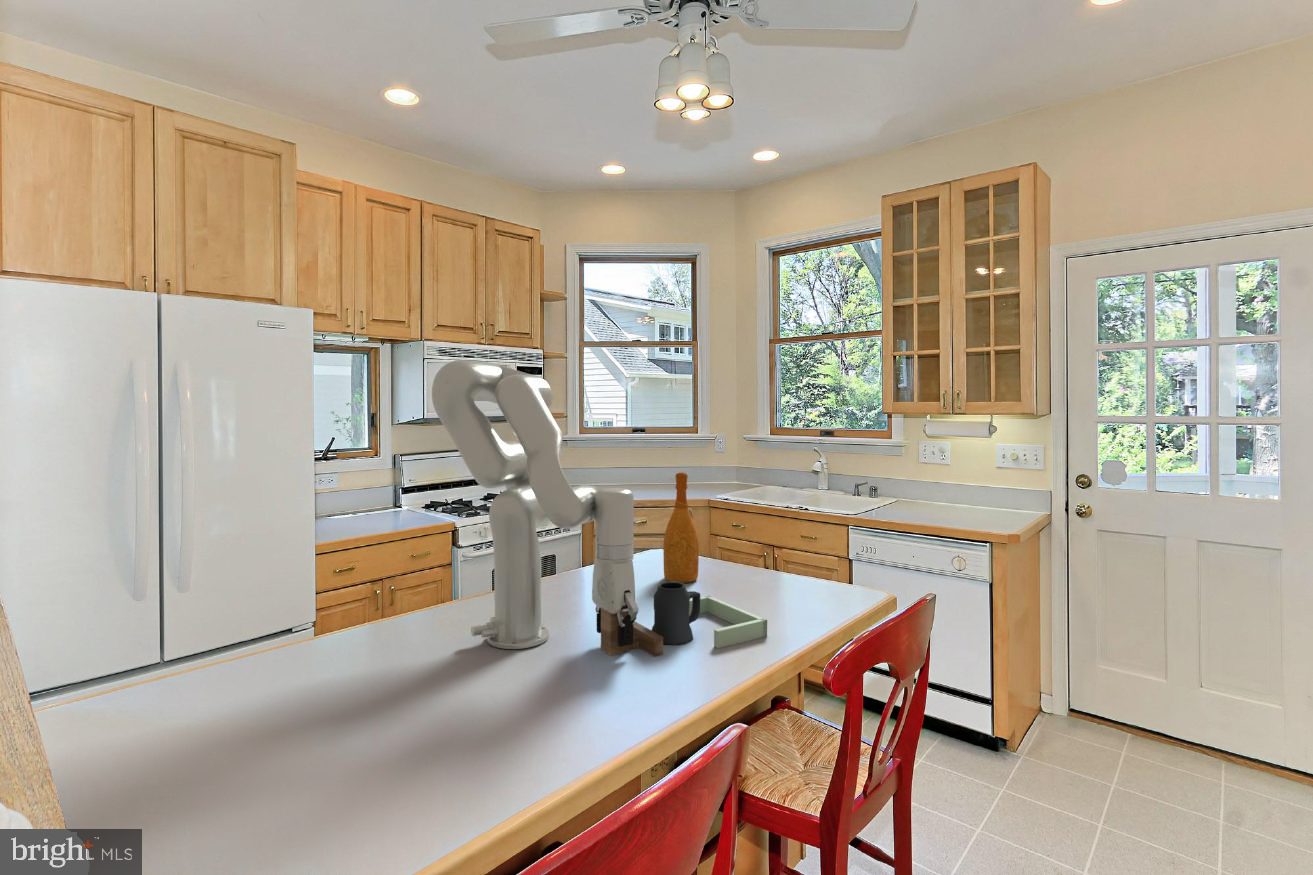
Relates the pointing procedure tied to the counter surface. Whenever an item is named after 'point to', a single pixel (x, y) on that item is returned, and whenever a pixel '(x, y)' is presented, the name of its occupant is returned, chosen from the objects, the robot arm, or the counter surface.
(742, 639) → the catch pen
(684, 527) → the wine bottle
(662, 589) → the mug
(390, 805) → the counter surface
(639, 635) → the wooden cross block
